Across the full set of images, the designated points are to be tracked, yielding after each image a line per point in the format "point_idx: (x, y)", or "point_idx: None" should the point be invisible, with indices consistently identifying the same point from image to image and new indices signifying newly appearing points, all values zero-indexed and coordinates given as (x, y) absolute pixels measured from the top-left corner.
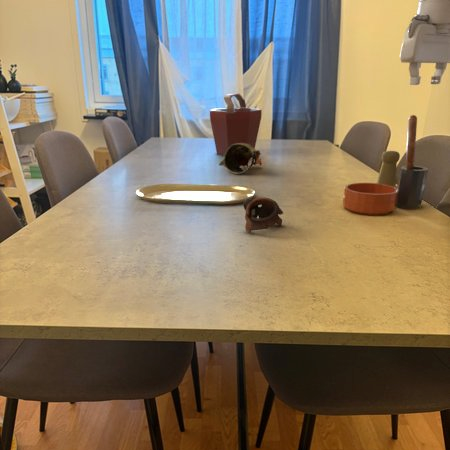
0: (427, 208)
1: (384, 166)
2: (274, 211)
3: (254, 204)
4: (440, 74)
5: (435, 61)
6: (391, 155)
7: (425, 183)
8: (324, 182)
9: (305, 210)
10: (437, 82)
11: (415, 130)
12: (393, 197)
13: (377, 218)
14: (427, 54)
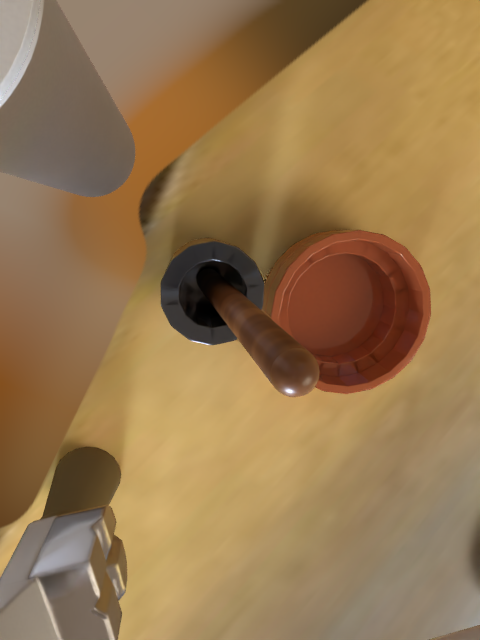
0: (173, 226)
1: None
2: None
3: None
4: (16, 608)
5: (457, 636)
6: None
7: (176, 253)
8: (218, 593)
9: (473, 368)
10: (99, 509)
11: (272, 329)
12: (338, 232)
13: (377, 222)
14: None
